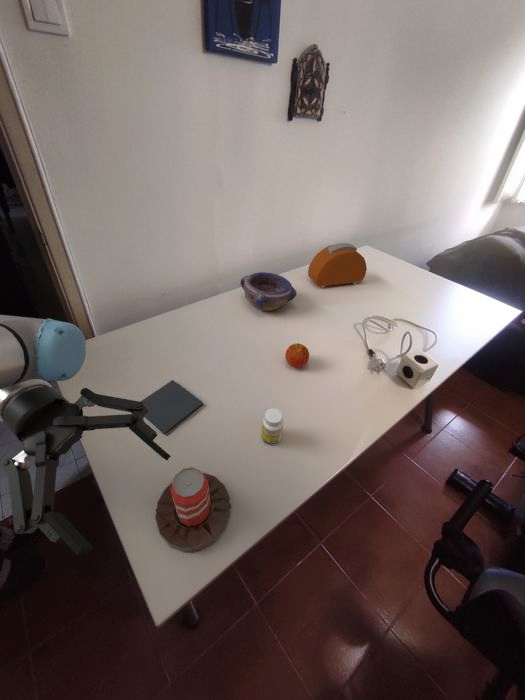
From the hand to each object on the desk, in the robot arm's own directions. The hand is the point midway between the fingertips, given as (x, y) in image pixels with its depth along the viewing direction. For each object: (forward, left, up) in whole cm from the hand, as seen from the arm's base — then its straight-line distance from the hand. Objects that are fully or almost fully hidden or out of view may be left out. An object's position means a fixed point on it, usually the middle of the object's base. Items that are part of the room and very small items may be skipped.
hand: (128, 501), depth 40 cm
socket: (+9, +1, -22) cm, 24 cm away
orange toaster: (+112, +27, -22) cm, 117 cm away
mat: (+22, +25, -22) cm, 40 cm away
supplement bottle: (+32, 0, -22) cm, 39 cm away
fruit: (+57, +10, -22) cm, 62 cm away
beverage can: (+9, +1, -22) cm, 24 cm away
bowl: (+77, +37, -22) cm, 88 cm away
